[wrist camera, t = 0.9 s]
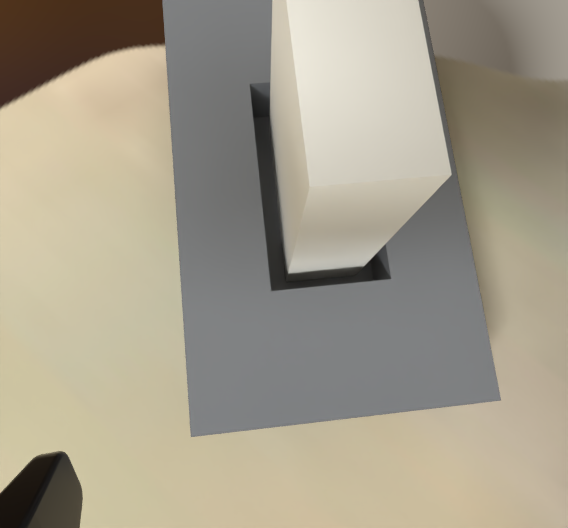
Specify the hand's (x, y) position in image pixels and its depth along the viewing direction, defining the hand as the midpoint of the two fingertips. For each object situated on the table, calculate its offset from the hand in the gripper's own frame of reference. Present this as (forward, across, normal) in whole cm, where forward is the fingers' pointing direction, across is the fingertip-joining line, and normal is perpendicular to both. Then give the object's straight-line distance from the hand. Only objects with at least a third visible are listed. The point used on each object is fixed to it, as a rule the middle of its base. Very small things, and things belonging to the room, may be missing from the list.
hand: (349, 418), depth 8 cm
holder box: (+15, -2, +2) cm, 15 cm away
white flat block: (+14, -2, +2) cm, 15 cm away
